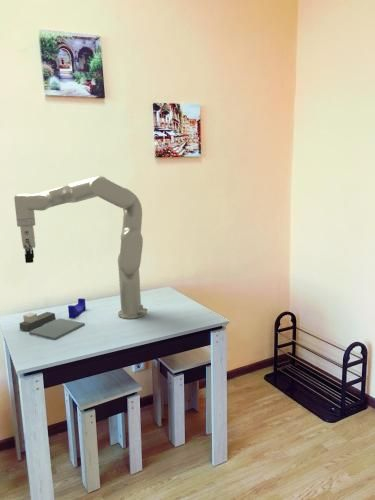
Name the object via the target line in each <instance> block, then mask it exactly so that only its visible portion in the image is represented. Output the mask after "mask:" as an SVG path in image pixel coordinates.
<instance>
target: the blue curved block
mask: <svg viewBox="0 0 375 500" xmlns="http://www.w3.org/2000/svg"><path fill="white" fill-rule="evenodd" d="M86 306H87V305H86V298H82V297H81V298H78V299H77V303H76V304H74V305H68V306H67V308H68V309H67V310H68V318H69V319H76V318H77V317H78V316H80V315H81V314H83V313H84V312H85V311H86V309H87V307H86Z"/></svg>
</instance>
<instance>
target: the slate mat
mask: <svg viewBox="0 0 375 500" xmlns="http://www.w3.org/2000/svg"><path fill="white" fill-rule="evenodd" d="M85 325H86V324H85V322H82V321H76V320H71V319H65V318H61V317H60V318H58V319H55V320H53V321H50V322H48V323H46V324H44V325H42V326H39V327H37V328H35V329H33V330H30V331H28V333H29V334H28V335H31V336H36V337H39V338H45V339H48V340H53V341H56V340H59V339H60V338H62V337H64V336H65V335H68V334H70V333H72V332H74V331H76V330H79V328H82V327H83V326H85Z"/></svg>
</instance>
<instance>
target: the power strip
mask: <svg viewBox="0 0 375 500" xmlns="http://www.w3.org/2000/svg"><path fill="white" fill-rule="evenodd" d="M37 314H38V313H34V312H28V313H26V314H23V315H22V317H23V321H21V322H19V330H20V331H25V332H30V331H33V330H35V329H37V328H39V327H41V326H44V325H46V324H48V323H50V322H53V321H55V320H56V314H55V313H54V312H49V311H46V312H44V313H40V314H39V315H37Z"/></svg>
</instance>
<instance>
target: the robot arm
mask: <svg viewBox="0 0 375 500" xmlns="http://www.w3.org/2000/svg"><path fill="white" fill-rule="evenodd" d="M13 197H14V198H13V199H14V208H15V209H14V210H15V218H16V227H19V229H20V237H21V244H22V248H23V250H24V259H25V263H26V264H28V263H29V264H31V263H34V258H35V256H34V255H35V253H34V249H35V248H36V238H35V231H34V226H36V217H35V211H42V212H43V211H46V210H48V209H49V208H53V207H57V206H60V205H65V204H70V203H71V204H73V203H74V204H75V203H79V202H82V201H86V200H89V199H93V198H96V197H98V198H100V199H102V200H103V201H106V202H108V203H110V204H111V205H114V206H116V207H118V208H120V209H122V211H123V218H122V229H121V234H120V249H119V250H120V251H119V253H118V254H119V255H118V257H117V265H118V281H119V294H120V297H119V298H120V310H119V311H118V313H117V316H118V317H120V318H121V319H127V320H128V319H129V320H133V319H137V318H141V317H143V316H144V315H147V313H148V308H145V307H144V305H143V304H142V302H141V300H142V299H141V298H142V297H141V283H140V282H141V279H140V267H141V263H142V262H141V261H142V252H143V243H144V241H143V239H144V238H143V235H142V224H143V223H142V222H143V221H142V220H143V207H142V204H141V202H140V200H139V198H138V196H137V195H136V194H135V193H134V192H133V191H131V190H130V189H129V188H126V187H123V186H121V185H120V184H119V185H118V184H117V183H115V182H113V181H111V180H110V179H107V177H105V176H104V175H103V176H102V175H99V176H94V177H90V178H86V179H83V180H79V181H75V182H72V183H69V184H66V185H63V186H60V187H57V188H53V189H49V190H45V191H42V192H39V193H34V194H32V193H17V194H15V195H14V196H13Z"/></svg>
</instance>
